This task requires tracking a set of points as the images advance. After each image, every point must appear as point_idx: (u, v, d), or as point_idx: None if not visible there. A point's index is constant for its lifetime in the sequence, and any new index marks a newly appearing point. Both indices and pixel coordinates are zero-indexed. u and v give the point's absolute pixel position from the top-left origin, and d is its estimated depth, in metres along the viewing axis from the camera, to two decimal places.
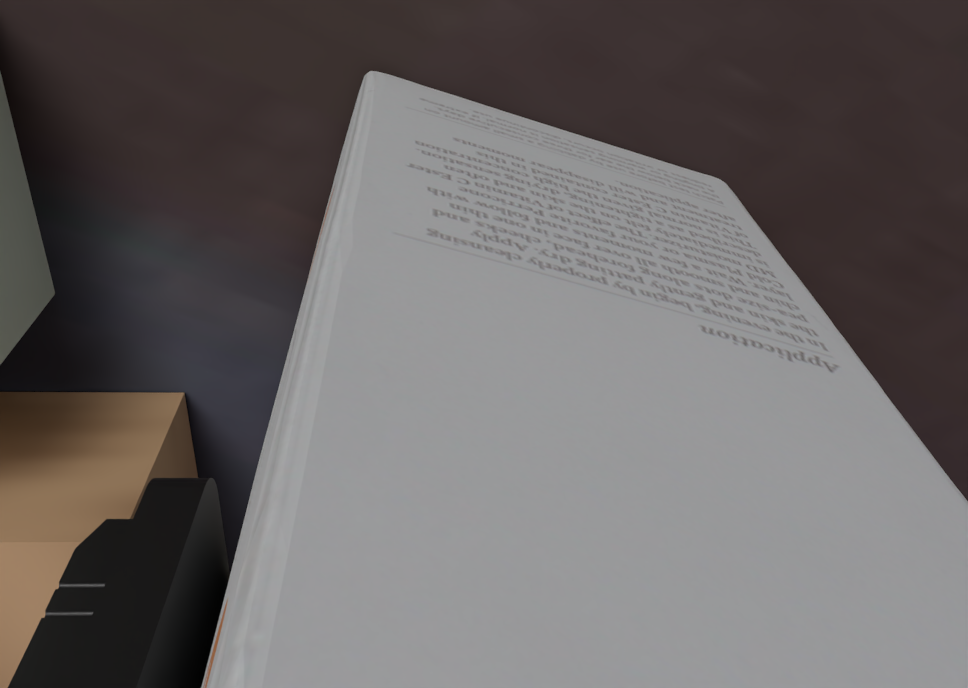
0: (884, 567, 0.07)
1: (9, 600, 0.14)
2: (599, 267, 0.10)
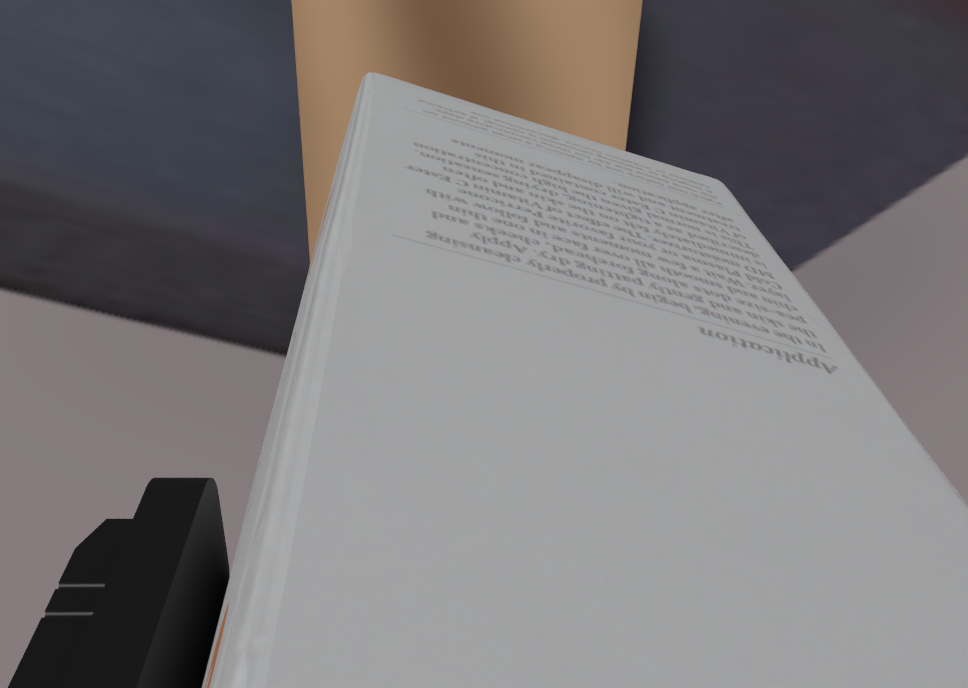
0: (882, 567, 0.07)
1: (568, 22, 0.24)
2: (598, 269, 0.10)
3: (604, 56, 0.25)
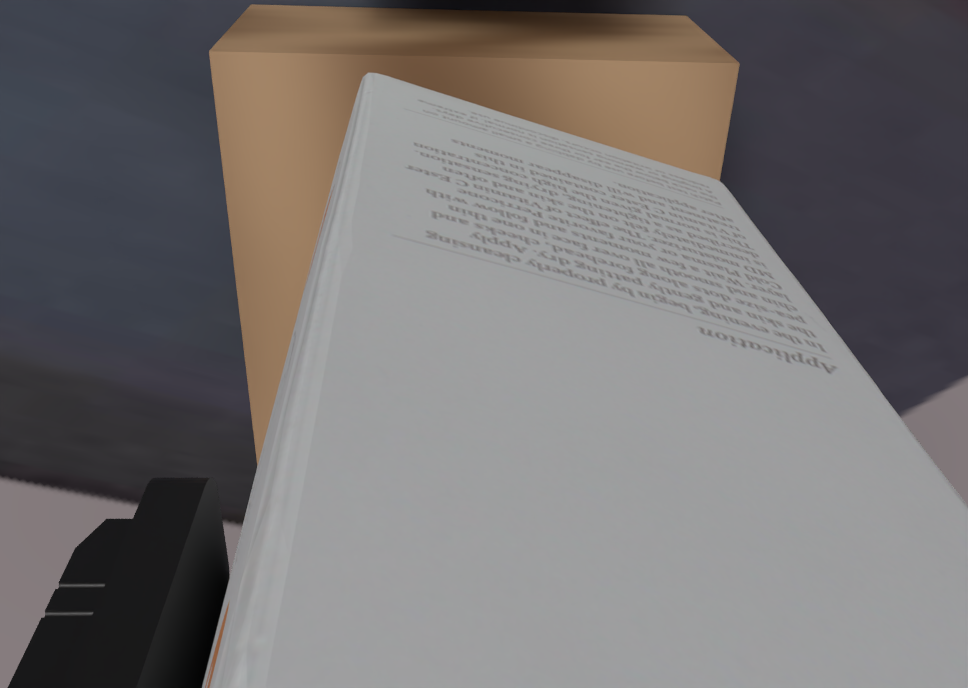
0: (881, 567, 0.07)
1: (623, 130, 0.16)
2: (598, 269, 0.10)
3: None
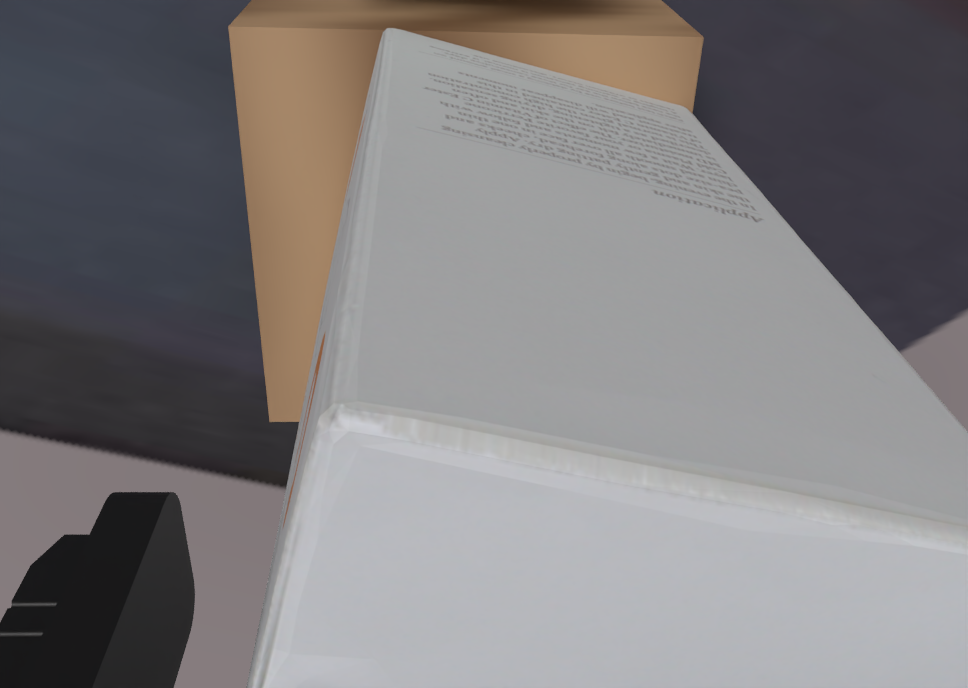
0: (771, 316, 0.10)
1: None
2: (575, 153, 0.13)
3: None
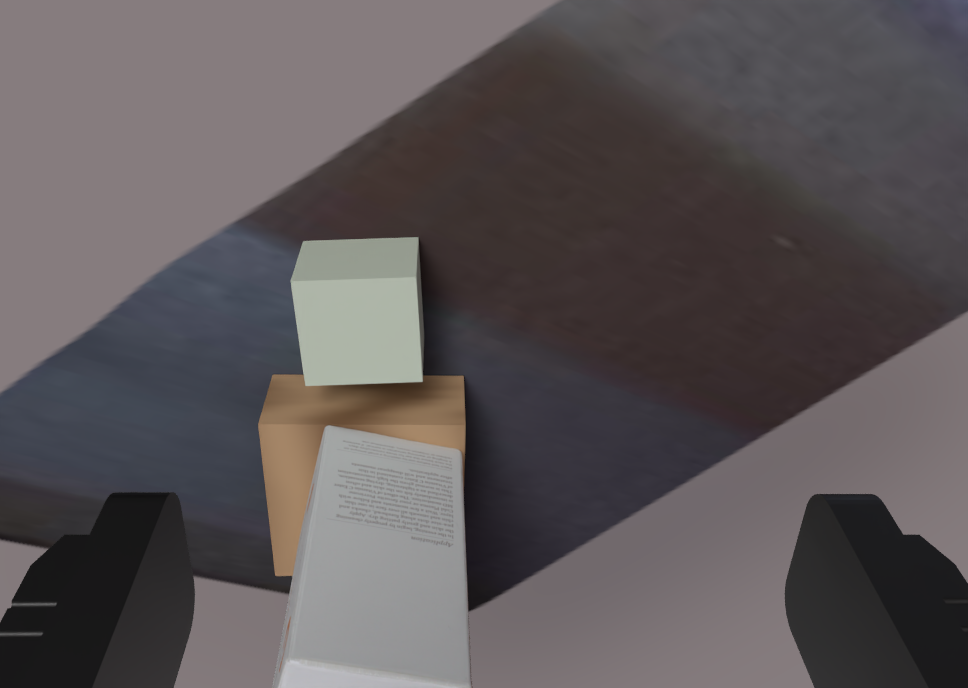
0: (426, 603, 0.33)
1: None
2: (386, 518, 0.36)
3: None
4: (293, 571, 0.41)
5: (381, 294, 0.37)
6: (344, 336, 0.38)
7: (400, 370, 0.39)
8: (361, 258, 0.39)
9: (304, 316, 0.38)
